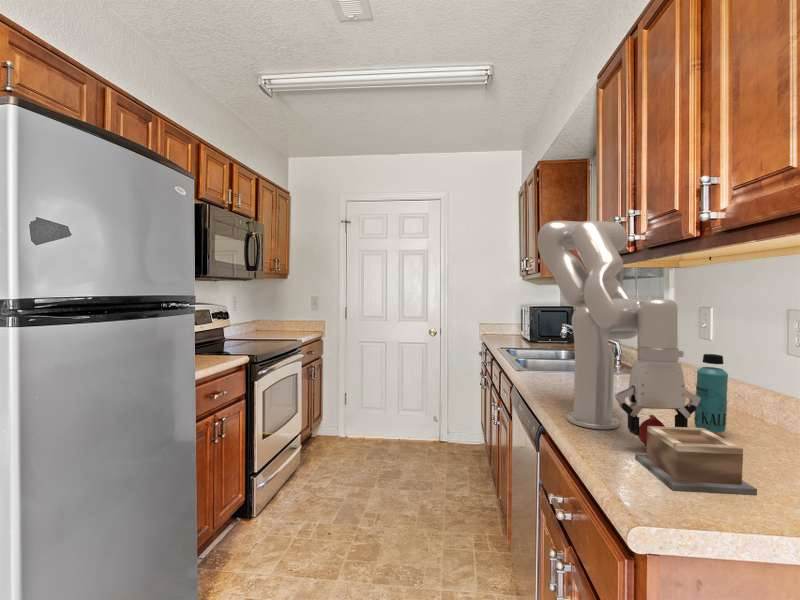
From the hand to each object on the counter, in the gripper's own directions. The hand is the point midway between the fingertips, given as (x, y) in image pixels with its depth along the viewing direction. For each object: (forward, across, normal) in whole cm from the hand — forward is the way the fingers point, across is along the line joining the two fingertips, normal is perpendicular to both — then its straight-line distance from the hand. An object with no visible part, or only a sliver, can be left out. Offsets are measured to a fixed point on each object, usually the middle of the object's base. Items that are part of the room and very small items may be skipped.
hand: (657, 434), depth 92 cm
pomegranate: (+4, 0, -1) cm, 4 cm away
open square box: (+4, -1, +11) cm, 12 cm away
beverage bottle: (+4, -20, -14) cm, 25 cm away
